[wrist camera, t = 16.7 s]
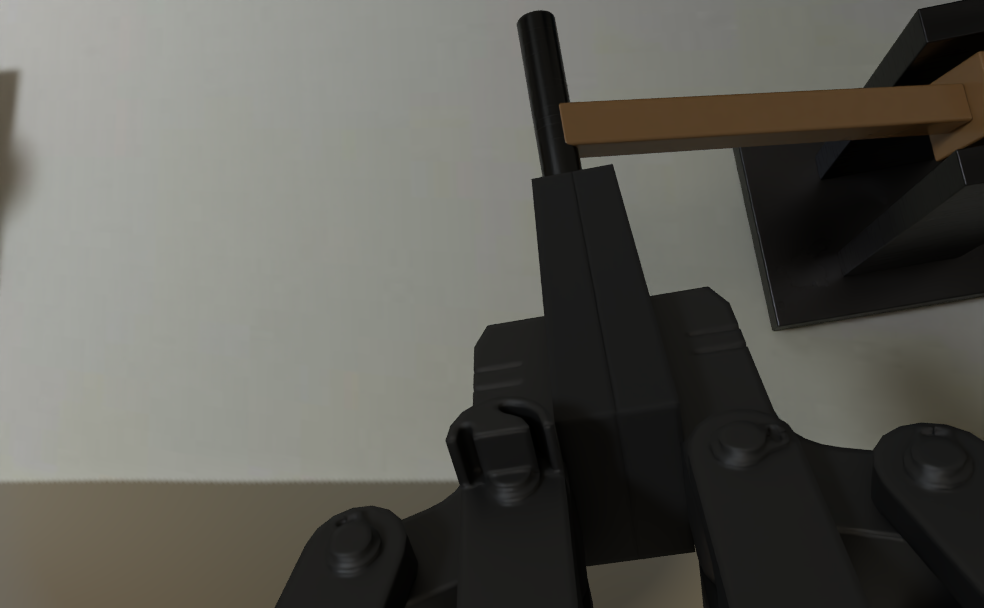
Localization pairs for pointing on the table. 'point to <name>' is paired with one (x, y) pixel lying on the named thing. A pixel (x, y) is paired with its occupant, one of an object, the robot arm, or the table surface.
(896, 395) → the table surface
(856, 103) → the door lever
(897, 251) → the bracket
